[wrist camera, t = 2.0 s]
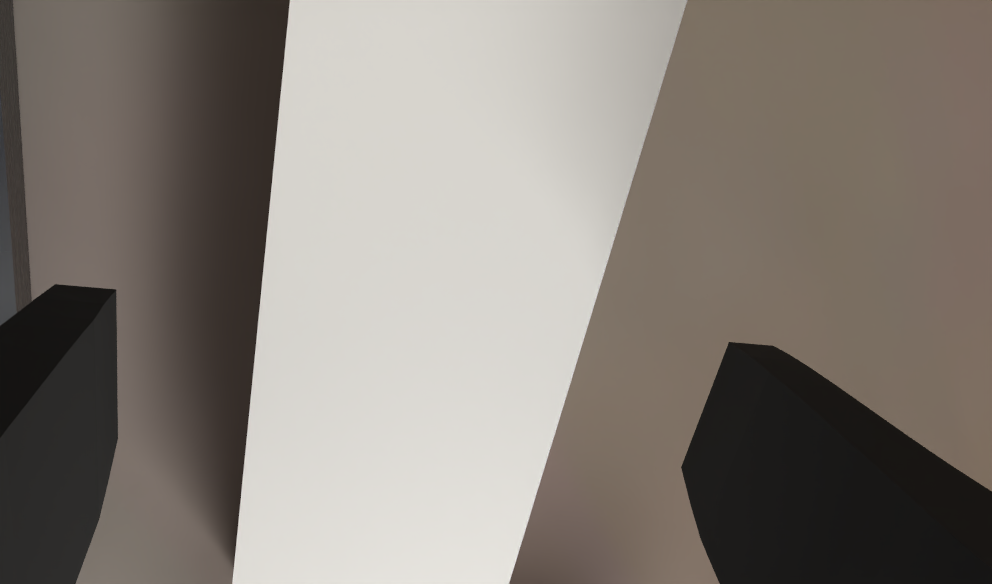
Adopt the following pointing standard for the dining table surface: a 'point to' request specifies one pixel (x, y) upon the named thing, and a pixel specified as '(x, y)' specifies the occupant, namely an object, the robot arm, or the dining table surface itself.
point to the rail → (433, 274)
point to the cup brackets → (11, 179)
